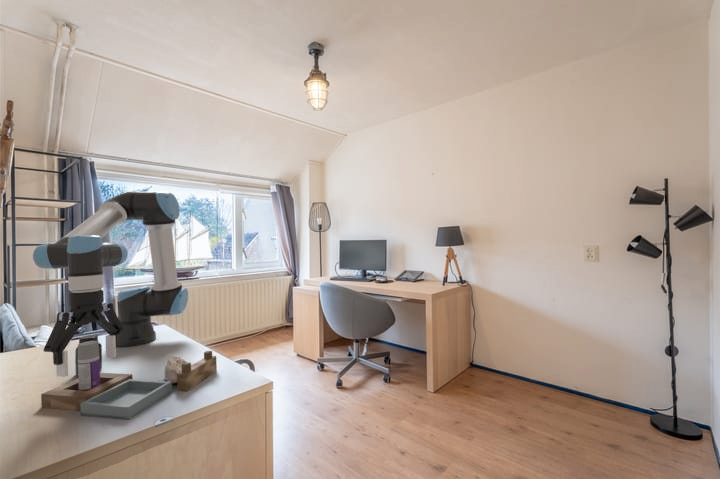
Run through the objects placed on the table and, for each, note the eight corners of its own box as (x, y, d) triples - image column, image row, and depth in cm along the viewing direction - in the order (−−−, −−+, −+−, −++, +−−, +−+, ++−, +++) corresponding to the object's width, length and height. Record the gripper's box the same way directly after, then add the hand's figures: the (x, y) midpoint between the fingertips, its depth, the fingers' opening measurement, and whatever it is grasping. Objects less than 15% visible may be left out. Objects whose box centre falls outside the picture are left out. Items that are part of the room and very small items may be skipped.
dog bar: (208, 370, 107) (207, 349, 107) (216, 371, 107) (216, 349, 107) (177, 390, 93) (176, 366, 93) (186, 391, 93) (185, 366, 93)
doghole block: (93, 383, 100) (93, 372, 100) (132, 385, 97) (132, 374, 97) (41, 407, 86) (41, 394, 86) (85, 410, 83) (85, 397, 83)
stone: (192, 383, 106) (188, 352, 110) (195, 376, 97) (191, 343, 101) (165, 390, 102) (162, 358, 106) (166, 384, 93) (163, 349, 97)
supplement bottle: (87, 377, 104) (85, 340, 104) (70, 376, 106) (68, 339, 106) (107, 368, 111) (106, 333, 111) (91, 367, 112) (90, 333, 112)
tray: (129, 389, 95) (129, 379, 95) (171, 392, 93) (171, 381, 93) (80, 415, 81) (80, 403, 81) (128, 419, 79) (128, 407, 79)
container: (97, 390, 95) (95, 339, 95) (103, 394, 92) (101, 342, 92) (76, 397, 91) (75, 343, 91) (81, 401, 88) (80, 346, 88)
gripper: (115, 284, 104) (117, 350, 104) (22, 298, 80) (24, 384, 80) (135, 284, 103) (137, 351, 103) (47, 298, 78) (49, 386, 78)
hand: (88, 365), depth 91 cm, fingers open, 13 cm apart
